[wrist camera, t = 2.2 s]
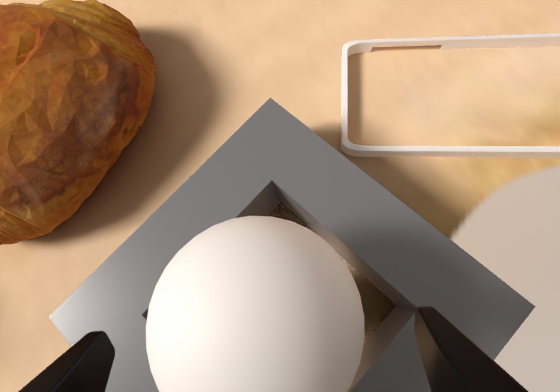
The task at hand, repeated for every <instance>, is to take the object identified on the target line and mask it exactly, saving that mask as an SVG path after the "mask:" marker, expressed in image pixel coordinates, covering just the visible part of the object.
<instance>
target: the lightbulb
mask: <svg viewBox="0 0 560 392" xmlns="http://www.w3.org/2000/svg"><path fill="white" fill-rule="evenodd" d="M364 339H365V337H364V312H363V307H362V302H361V297H360V293H359V291H358V288H357V286H356V283H355V281H354V278H353V276H352V274H351V272H350V270H349V269H348V267H347V266H346V264H345V263H344V261H343V260H342V258H341V256H340V255H339V254H338V253H337V252H336V251H335V250H334V249H333V248H332V247H331V246H330V245H329V244H328V243H327V242H326V241H325V240H324V239H323V238H321V237H320V236H318V235H317V234H316V233H314V232H313V231H311V230H310V229H308V228H306V227H304V226H301V225H299V224H297V223H295V222H292V221H289V220H285V219H280V218H276V217H271V216H246V217H240V218H233V219H230V220H227V221H224V222H222V223H219V224H216V225H213V226H212V227H210V228H208V229H207V230H205V231H203V232H202V233H200V234H198V235H197V236H195V237H194V238H193V239H192V240H191V241H189V242H188V243H187V244H186V245H185V246H184V247H183V248H181V249H180V250H179V251H178V252H177V254H176V255H175V256H174V257H173V259H172V260H171V261H170V262H169V264H168V265H167V266H166V268H165V269H164V271H163V273H162V275H161V277H160V279H159V281H158V282H157V284H156V286H155V289H154V292H153V295H152V298H151V301H150V304H149V309H148V316H147V322H146V350H147V355H148V360H149V365H150V370H151V373H152V375H153V378H154V380H155V383H156V385H157V388H158V390H159V392H347V391H348V390H349V388H350V387H351V385H352V383H353V380H354V377H355V375H356V372H357V370H358V367H359V365H360V362H361V356H362V351H363V345H364Z"/></svg>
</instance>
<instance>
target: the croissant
mask: <svg viewBox="0 0 560 392" xmlns="http://www.w3.org/2000/svg"><path fill="white" fill-rule="evenodd" d="M155 70H156V68H155V66H154V64H153V57H152V54H151V52H150V51H149V50H148V49H147V48H146V47H145V45H144V44H143V43H142V42H141V40H140V36H139V33H138V31H137V30H136V28H135V27H134V25H133V24H132V22H131V21H130V20H129V19H128V18H126V17H125V16H124V15H122V14H121V13H120V12H118V11H117V10H115V9H113V8H111V7H109V6H107V5H105V4H102V3H99V2H98V1H96V0H87V1H83V2H82V1H73V0H49V1H44V2H43V3H41V4H39V5H34V4H24V3H12V4H8V5H0V245H2V244H14V243H17V242H20V241H23V240H31V239H33V238H35V237H37V236H42V235H45V234H48V233H50V232H51V231H52V230H53V229H55V228H56V227H57V226H58V225H60V224H61V223H62V222H63V221H65V220H66V219H68V218H70V217H71V216H72V215H73V214H74V213H75V212H76V211H77V210H78V209H79V207H80V206H81V204H82V203H83V201H84V200H85V199H86V198H87V197H89V196H90V195H91V193H92V192H93V190H94V189H95V188H96V187H97V186H98V184H99V183H100V182H101V180H102V179H103V178H104V176H105V175H106V173H107V172H108V170H109V169H110V168H111V167H112V165H113V164H114V163H115V162H116V160H117V159H118V158H119V157H120V155H121V153H122V150H123V149H124V147H125V146H127V145H128V144H129V143H130V142H131V140H132V139H133V138H134V137H135V135H136V134H137V132H138V131H139V129H140V128H141V126H142V124H143V122H144V120H145V118H146V116H147V114H148V111H149V108H150V105H151V101H152V96H153V93H154V90H155V84H154V83H155V81H156V77H155Z"/></svg>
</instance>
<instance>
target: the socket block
mask: <svg viewBox="0 0 560 392" xmlns="http://www.w3.org/2000/svg"><path fill="white" fill-rule="evenodd" d="M281 203H282V204H283V205H285V206H286V207H287V208H288V209H289V210H290V211H291V212H292V213H293V214H295V215H296V216H297V217H298V218H299V219H300V220H301V221H302V222H304V223H305V224H306V225H307V226H308V227H309V228H310V229H311V230H312V231H314V232H315V233H316V234H317V235H318V236H320V237H321V238H323V239H324V240H325V241H326V242H327V243H328V244H329V245H330V246H331V247H332V248H333V249H334V250H335V251H336V252H337V253H338V254H339V255H340V256H342V257H343V258H344V259H345V260H346V261H347V262H348V263H349V264H350V265H352V266H353V267H354V268H355V269H356V270H357V271H358V272H359V273H361V274H362V275H363V276H364V277H365V278H366V279H367V280H368V281H369V282H371V283H372V284H373V285H374V286H375V287H376V288H377V289H378V290H380V291H381V292H382V293H383V294H384V295H385V296H386V297H387V298H388V299H390V300H391V301H392V302H393V303H394V304H395V305H396V306H395V307H394V308H393V310H392V311H391V312H390V313H389V314H388V316H387V317H386V318H385V319H384V320H383V321H382V323H381V324H380V325H379V326H378V327H377V329H376V330H375V331H374V332H373V333H372V334H371V336H370V337H369V338H368V339H367V340H366V342H365V343H364V345H363V351H362V356H361V362H360V365H359V367H358V370H357V372H356V375H355V377H354V380H353V383H352V385H351V387H350V388H349V390H348V391H347V392H431V389H430V385H429V382H428V379H427V375H426V371H425V368H424V364H423V361H422V357H421V354H420V350H419V347H418V343H417V340H416V336H415V331H414V323H415V311H416V308H417V307H419V306H432V307H434V308H435V309H436V310H438V311H439V312H440V313H441V314H442V315H443V316H444V317H445V318H446V319H448V320H449V321H450V322H451V323H452V324H453V325H454V326H455V327H457V328H458V329H459V330H460V331H461V332H462V333H463V334H464V335H466V336H467V337H468V338H469V339H470V340H471V341H472V342H473V343H474V344H476V345H477V346H478V347H479V348H480V349H481V350H482V351H483V352H485V353H486V354H487V355H488V356H489V357H490V358H491V359H492V360H494V359H495V358H496V356H497V355H498V354H499V353H500V351H501V350H502V349H503V348H504V346H505V345H506V344H507V342H508V341H509V340H510V338H511V337H512V336H513V335H514V333H515V332H516V331H517V329H518V328H519V327H520V326H521V324H522V323H523V322H524V320H525V319H526V318H527V317H528V315H529V314H530V313H531V311H532V310H533V308H535V306H534V305H533V304H531V303H530V302H528V301H527V300H526V299H525V298H524V297H522V296H521V295H520V294H519V293H517V292H516V291H515V290H513V289H512V288H511V287H510V286H508V285H507V284H506V283H505V282H503V281H502V280H501V279H499V278H498V277H497V276H496V275H494V274H493V273H492V272H491V271H489V270H488V269H487V268H486V267H484V266H483V265H482V264H481V263H479V262H478V261H477V260H475V259H474V258H473V257H472V256H470V255H469V254H468V253H467V252H465V251H464V250H463V249H461V248H460V247H459V246H458V245H456V244H455V243H454V242H453V241H451V240H450V239H449V238H448V237H446V236H445V235H444V234H442V233H441V232H440V231H439V230H437V229H436V228H435V227H434V226H432V225H431V224H430V223H429V222H427V221H426V220H425V219H423V218H422V217H421V216H420V215H418V214H417V213H416V212H415V211H413V210H412V209H411V208H409V207H408V206H407V205H406V204H404V203H403V202H402V201H401V200H399V199H398V198H397V197H396V196H394V195H393V194H392V193H390V192H389V191H388V190H387V189H385V188H384V187H383V186H382V185H380V184H379V183H378V182H376V181H375V180H374V179H373V178H371V177H370V176H369V175H368V174H366V173H365V172H364V171H363V170H361V169H360V168H359V167H357V166H356V165H355V164H354V163H352V162H351V161H350V160H349V159H347V158H346V157H345V156H344V155H342V154H341V153H340V152H338V151H337V150H336V149H335V148H333V147H332V146H331V145H330V144H328V143H327V142H326V141H324V140H323V139H322V138H321V137H319V136H318V135H317V134H316V133H314V132H313V131H312V130H311V129H309V128H308V127H307V126H305V125H304V124H303V123H302V122H300V121H299V120H298V119H297V118H295V117H294V116H293V115H292V114H290V113H289V112H288V111H286V110H285V109H284V108H283V107H281V106H280V105H279V104H278V103H276V102H275V101H274V100H272V99H271V98H270V99H269V100H268V101H267V102H265V103H264V104H263V105H262V106H261V107H260V108H259V109H258V110H257V111H256V112H255V113H254V114H253V115H252V116H251V117H250V118H249V119H248V120H247V121H246V122H245V123H244V124H243V125H242V126H241V127H240V128H239V129H238V130H237V131H236V132H235V133H234V134H233V135H232V136H231V137H230V138H229V139H228V140H227V141H226V142H225V143H224V144H223V145H222V146H221V147H220V148H219V149H218V150H217V151H216V152H215V153H214V154H213V155H212V156H211V157H210V158H209V159H208V160H207V161H206V162H205V163H204V164H203V165H202V166H201V167H200V168H199V169H198V170H197V171H196V172H195V173H194V174H193V175H192V176H191V177H190V178H189V179H188V180H187V181H186V182H185V183H184V184H183V185H182V186H181V187H180V188H179V189H177V190H176V191H175V192H174V193H173V194H172V195H171V196H170V197H169V198H168V199H167V200H166V201H165V202H164V203H163V204H162V205H161V206H160V207H159V208H158V209H157V210H156V211H155V212H154V213H153V214H152V215H151V216H150V217H149V218H148V219H147V220H146V221H145V222H144V223H143V224H142V225H141V226H140V227H139V228H138V229H137V230H136V231H135V232H134V233H133V234H132V235H131V236H130V237H129V238H128V239H127V240H126V241H125V242H124V243H123V244H122V245H121V246H120V247H119V248H118V249H117V250H116V251H115V252H114V253H113V254H112V255H111V256H110V257H109V258H108V259H107V260H106V261H105V262H104V263H103V264H102V265H101V266H100V267H99V268H98V269H97V270H96V271H95V272H94V273H93V274H92V275H91V276H89V277H88V278H87V279H86V280H85V281H84V282H83V283H82V284H81V285H80V286H79V287H78V288H77V289H76V290H75V291H74V292H73V293H72V294H71V295H70V296H69V297H68V298H67V299H66V300H65V301H64V302H63V303H62V304H61V305H60V306H59V307H58V308H57V309H56V310H55V311H54V312H53V313H52V314H51V315H50V316H49V318H50V319H51V320H52V322H53V323H54V324H55V326H56V327H57V329H58V330H59V331H60V333H61V334H62V335H63V337H64V338H65V340H66V341H67V342H68V344H69V345H70V346H71V347H72V346H73V345H74V344H75V343H77V342H78V341H79V340H80V339H81V338H82V337H84V336H85V335H86V334H87V333H89V332H92V331H104V332H106V334H107V335H108V337H109V339H110V341H111V342H112V344H113V346H114V348H115V358H114V361H113V365H112V368H111V372H110V376H109V379H108V383H107V386H106V390H105V392H159V390H158V388H157V385H156V383H155V380H154V378H153V375H152V373H151V370H150V365H149V360H148V355H147V350H146V322H147V316H148V309H149V304H150V301H151V298H152V295H153V292H154V289H155V286H156V284H157V282H158V281H159V279H160V277H161V275H162V273H163V271H164V269H165V268H166V266H167V265H168V264H169V262H170V261H171V260H172V259H173V257H174V256H175V255H176V254H177V252H178V251H179V250H180V249H181V248H183V247H184V246H185V245H186V244H187V243H188V242H189V241H191V240H192V239H193V238H194V237H195V236H197V235H198V234H200V233H202V232H203V231H205V230H207V229H208V228H210V227H212V226H213V225H216V224H219V223H222V222H224V221H227V220H230V219H233V218H240V217H246V216H269V215H270V214H271V213H272V212H273V211H274V210H275V209H276V208H277V207H278V206H279V205H280V204H281Z"/></svg>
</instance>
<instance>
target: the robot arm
mask: <svg viewBox="0 0 560 392" xmlns="http://www.w3.org/2000/svg"><path fill="white" fill-rule="evenodd" d="M414 331H415V336H416V340H417V343H418V347H419V350H420V354H421V357H422V361H423V364H424V368H425V371H426V375H427V379H428V382H429V385H430V389H431V392H528V391H527V390H526V389H525V388H524V387H523V386H521V385H520V384H519V383H518V382H517V381H516V380H515V379H514V378H513V377H511V376H510V375H509V374H508V373H507V372H506V371H505V370H503V369H502V368H501V367H500V366H499V365H498V364H497V363H496V362H495V361H494V360H492V359H491V358H490V357H489V356H488V355H487V354H486V353H485V352H483V351H482V350H481V349H480V348H479V347H478V346H477V345H476V344H474V343H473V342H472V341H471V340H470V339H469V338H468V337H467V336H466V335H464V334H463V333H462V332H461V331H460V330H459V329H458V328H457V327H455V326H454V325H453V324H452V323H451V322H450V321H449V320H448V319H446V318H445V317H444V316H443V315H442V314H441V313H440V312H439V311H438V310H436V309H435V308H434V307H432V306H419V307H417V308H416V311H415V323H414ZM114 358H115V348H114V346H113V344H112V342H111V341H110V339H109V337H108V335H107V334H106V332H104V331H92V332H89V333H87V334H86V335H85V336H84V337H82V338H81V339H80V340H79V341H78V342H77V343H75V344H74V345H73V346H72V347H71V348H69V349H68V350H67V351H66V352H65V353H64V354H62V355H61V356H60V357H59V358H58V359H56V360H55V361H54V362H53V363H52V364H51V365H49V366H48V367H47V368H46V369H45V370H43V371H42V372H41V373H40V374H39V375H38V376H36V377H35V378H34V379H33V380H32V381H30V382H29V383H28V384H27V385H26V386H25V387H23V388H22V389H21V390H20V391H19V392H105V390H106V386H107V383H108V379H109V376H110V372H111V368H112V365H113V361H114Z"/></svg>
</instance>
